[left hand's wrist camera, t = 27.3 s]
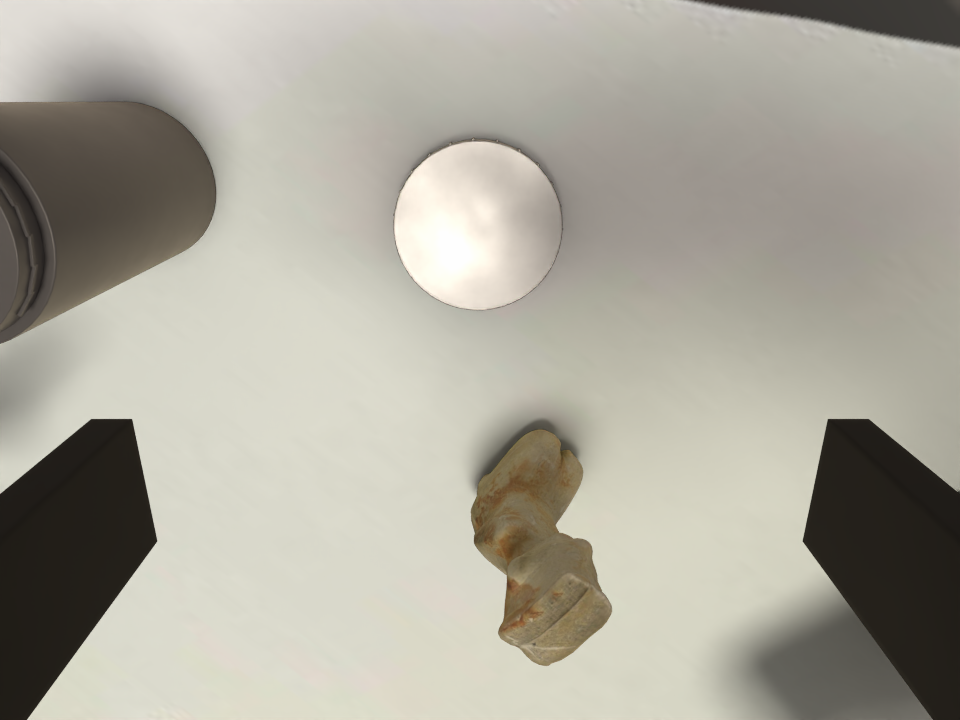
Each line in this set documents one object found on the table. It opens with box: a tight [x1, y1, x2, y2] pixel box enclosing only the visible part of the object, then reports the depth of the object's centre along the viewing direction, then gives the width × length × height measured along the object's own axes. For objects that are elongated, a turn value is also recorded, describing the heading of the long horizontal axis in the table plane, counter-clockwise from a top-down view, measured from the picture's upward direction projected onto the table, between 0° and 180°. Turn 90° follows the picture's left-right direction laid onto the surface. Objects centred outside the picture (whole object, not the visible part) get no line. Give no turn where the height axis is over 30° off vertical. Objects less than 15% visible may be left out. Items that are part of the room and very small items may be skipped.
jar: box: [0, 102, 216, 344], centre depth 30 cm, size 9×9×17 cm
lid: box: [393, 138, 563, 310], centre depth 38 cm, size 10×10×2 cm
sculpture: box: [471, 429, 612, 666], centre depth 37 cm, size 6×7×15 cm
